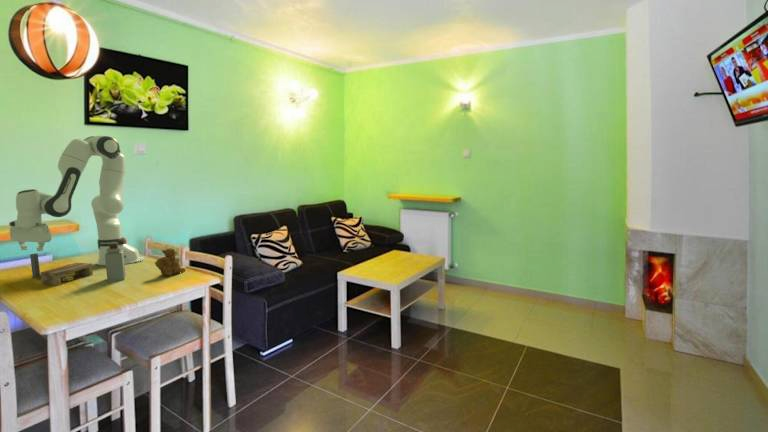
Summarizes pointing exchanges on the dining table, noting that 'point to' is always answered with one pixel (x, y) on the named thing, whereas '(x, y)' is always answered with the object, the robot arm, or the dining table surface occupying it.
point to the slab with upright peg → (36, 266)
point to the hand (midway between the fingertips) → (32, 250)
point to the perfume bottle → (115, 263)
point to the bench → (54, 274)
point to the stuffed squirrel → (169, 263)
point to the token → (68, 278)
